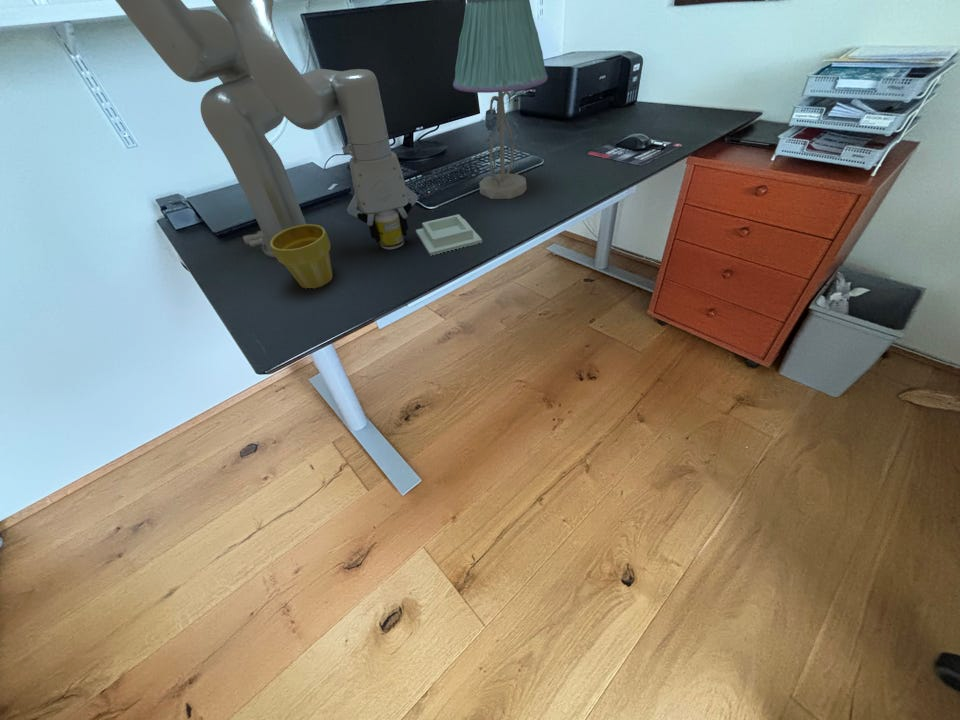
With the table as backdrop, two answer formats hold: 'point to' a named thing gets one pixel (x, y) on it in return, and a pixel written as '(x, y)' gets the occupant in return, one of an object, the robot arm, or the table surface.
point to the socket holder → (447, 234)
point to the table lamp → (499, 73)
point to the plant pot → (304, 254)
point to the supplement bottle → (389, 229)
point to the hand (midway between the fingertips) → (390, 236)
